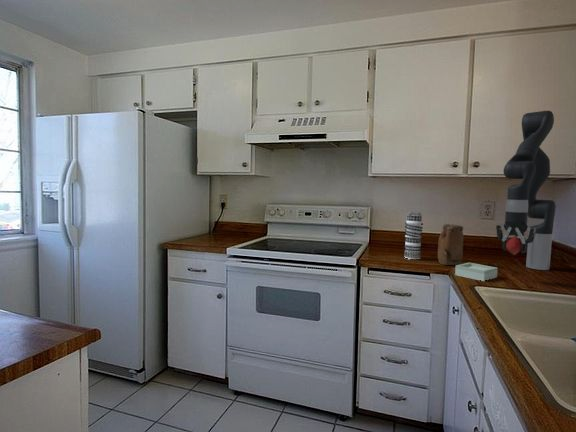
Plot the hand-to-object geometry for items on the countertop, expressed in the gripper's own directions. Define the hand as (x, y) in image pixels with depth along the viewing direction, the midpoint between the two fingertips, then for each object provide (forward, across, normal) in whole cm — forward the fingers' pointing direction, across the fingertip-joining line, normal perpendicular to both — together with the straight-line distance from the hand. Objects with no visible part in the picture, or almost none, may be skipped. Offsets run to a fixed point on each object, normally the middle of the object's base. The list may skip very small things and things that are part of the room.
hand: (513, 251), depth 140 cm
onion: (+2, 0, 0) cm, 2 cm away
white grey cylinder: (+13, +50, -4) cm, 52 cm away
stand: (+12, +12, +6) cm, 18 cm away
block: (+13, +31, -8) cm, 34 cm away
